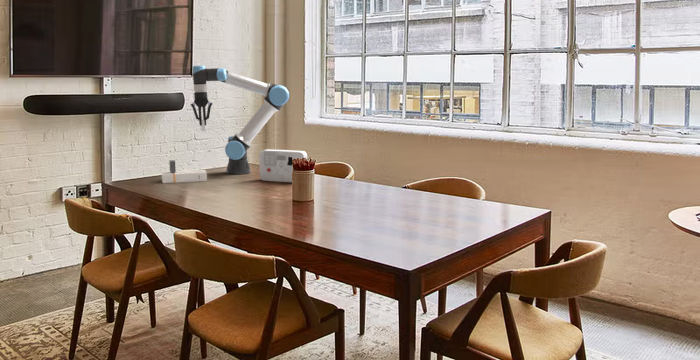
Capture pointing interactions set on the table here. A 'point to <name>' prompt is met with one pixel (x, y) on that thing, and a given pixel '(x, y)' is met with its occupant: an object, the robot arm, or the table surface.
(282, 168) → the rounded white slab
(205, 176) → the console
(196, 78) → the robot arm
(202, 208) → the table surface
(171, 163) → the fader
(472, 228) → the table surface
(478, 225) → the table surface
